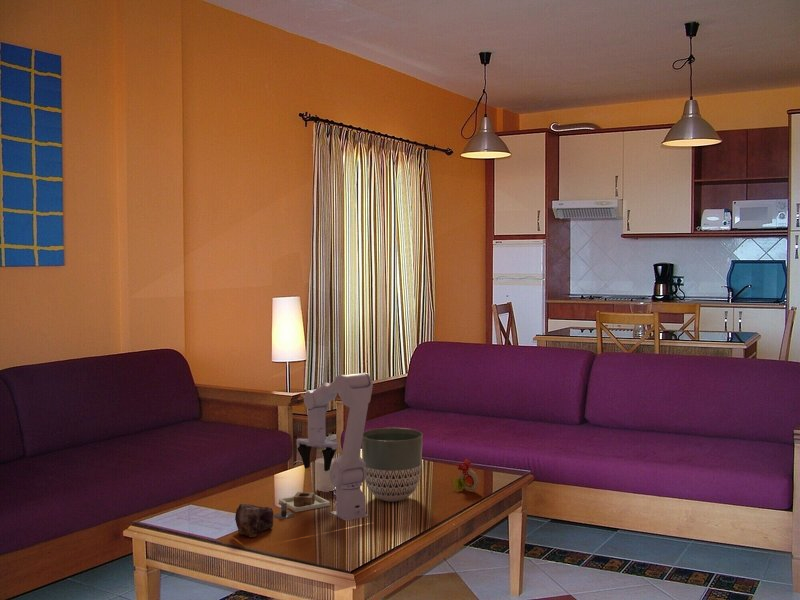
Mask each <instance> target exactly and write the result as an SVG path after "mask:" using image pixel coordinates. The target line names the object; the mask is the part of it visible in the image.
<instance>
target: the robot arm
mask: <svg viewBox="0 0 800 600" xmlns="http://www.w3.org/2000/svg"><path fill="white" fill-rule="evenodd" d="M334 378H335V379H334V380H333V381H332V382H322V383H321V385H320V386H319V387H316V388H315V389H314V390H311V391H310V390H307V391H306V392H305V393H304V395H303V396H304V397H303V402H304V405H305V408H306V409H307V438H297V439H296V444H295V445H296V446H298V447H297V451H298V453H299V455H300V457H301V461H302V463H303V467H304V469H309V468H310V466H311V451H312V448H321V449H322V450H321V453H322V456H323V457H322V458H324V470H325V471H328V470H330V465H331V461H332V458H334V456H335V454H336V452H337V449H338V448H339V447H338V445H339V444H338V442H337V441H336V442H335V441H332V440H328V439H327V437H326V432H327V431H326V414H327V412H328V407H329V404H330V402H332V401H333V400H335V399H336V398H337V396H339V399H340V400H341V402H342V404H343V405H344V406H346V407H347V408H348V409H349V412H348V415H347V416H348V417H347V422H346V428H345V429H346V430H345V434H344V441H343V446H342V452H341V455H340V456H338V457H337V458H336V460H335V461H334V464H333V467H332V468H331V471H330V480H331V482H332V484H333V485H334V486H335V487H336V491H335V494H336V495H335V496H336V497H335V498H336V499H335V501H336V502H335V506H336V508H335V510H334V511H331V512H330V514H332V515H333V516H335V517H337V518H339V519H341V520H344V521H352V520H358V519H362V518H369V515H368V514H367V512H366V509H367V508H366V506H367V505H366V504H367V503H366V500H367V499H366V495H365V493H364V492H363V491H362V490H361V487H363V483H364V482H365V477H366V471H365V466H366V464H365V462H364V460H363V457H361V456H360V454H361V450H362V438H363V432H365V426H366V420H367V415H368V414H367V413H368V408H369V403H371V398H372V393H373V387H374V384H373V381H372V378H371V376H370V375H369V373H367V372H362V373H352V374H338V375H337V376H335V377H334Z"/></svg>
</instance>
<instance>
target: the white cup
mask: <svg viewBox="0 0 800 600" xmlns="http://www.w3.org/2000/svg"><path fill="white" fill-rule="evenodd" d="M336 459H337V458H336V457H333V458H332V461H331V465H330V470H328V471H325V470H324V457H320V458H316V459H315V461H314V463H315V479H316V489H317V491H319V492H320V491H322V492H321V493H330V492H329V491H333V489H334V488H335V486H334V485H333V484H332V482H331V480H330V471H331V468H332V467H333V464H334V461H335V460H336ZM333 492H334V491H333Z"/></svg>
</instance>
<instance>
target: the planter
mask: <svg viewBox="0 0 800 600" xmlns="http://www.w3.org/2000/svg"><path fill="white" fill-rule="evenodd" d="M423 435H424V433H423V432H421V431H419V430H417V429H412V428H407V427H404V428H403V427H382V428H379V427H378V428H373V429H368V430H364V432H363V438H362V444H361V450H362V451H361V454H362V459H363V460H364V462H365V464H366V466H365V471H366V477H365V480H364V482H365V484H366V486H367V489H368V490H369V491H370V493H371V494H372V495H373V496H374V497H376V498H377V499H379V500H381V501H383V502H390V503H391V502H392V503H393V502H400V501H404V500H405V499H407V498H409V497H410V496H411V495H412V494H413V493H414V492H415V491H416V490H417V488H418V485H419V483H420V480H421V475H422V474H421V471H422V458H423V457H422V455H423V454H422V453H423Z"/></svg>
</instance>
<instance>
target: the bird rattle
mask: <svg viewBox="0 0 800 600" xmlns="http://www.w3.org/2000/svg"><path fill="white" fill-rule="evenodd" d="M455 465H456V466H458V467H457V469H458V471H461V472H460V475H459V478H458V477H455V478H453V480H452V483H453V487H452V488H453V490H456V489H457V492H462V490H464V489H466V490H467V491H470V492H471V493H475V492H476V489H477V488H478V486H479V482H480V480H479V477H478V475H477V473H476V472H475V471H473V470H472V469H470V467H471V465H472V462H471V461H470V460H469V458H465V459H464V460H463V462H461V463H455Z"/></svg>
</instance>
